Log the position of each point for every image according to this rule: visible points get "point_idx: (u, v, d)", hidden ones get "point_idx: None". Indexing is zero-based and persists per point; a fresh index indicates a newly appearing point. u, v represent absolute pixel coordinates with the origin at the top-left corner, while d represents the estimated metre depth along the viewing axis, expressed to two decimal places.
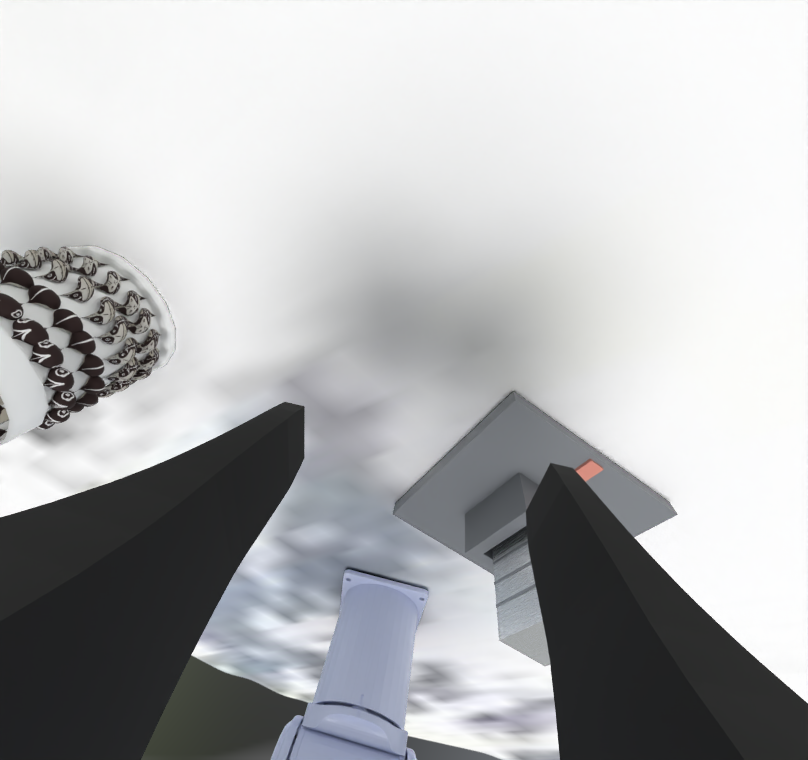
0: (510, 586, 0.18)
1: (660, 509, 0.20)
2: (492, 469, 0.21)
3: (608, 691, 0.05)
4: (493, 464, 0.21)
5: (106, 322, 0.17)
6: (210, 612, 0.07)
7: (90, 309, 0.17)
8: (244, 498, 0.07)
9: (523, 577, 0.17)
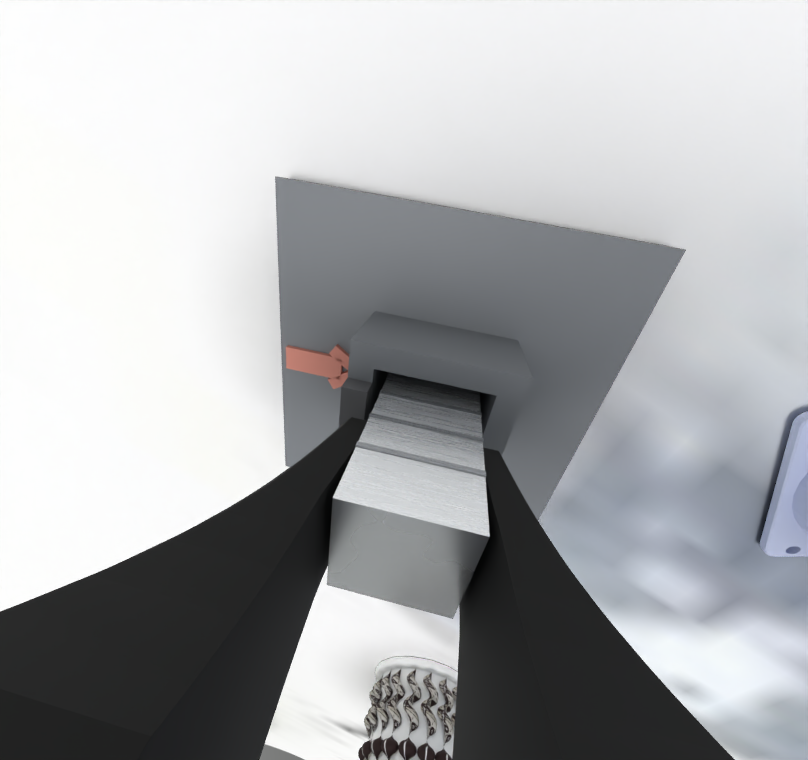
0: None
1: (286, 212, 0.11)
2: None
3: (485, 657, 0.05)
4: None
5: (385, 718, 0.24)
6: (298, 638, 0.07)
7: (381, 721, 0.25)
8: (329, 520, 0.07)
9: None
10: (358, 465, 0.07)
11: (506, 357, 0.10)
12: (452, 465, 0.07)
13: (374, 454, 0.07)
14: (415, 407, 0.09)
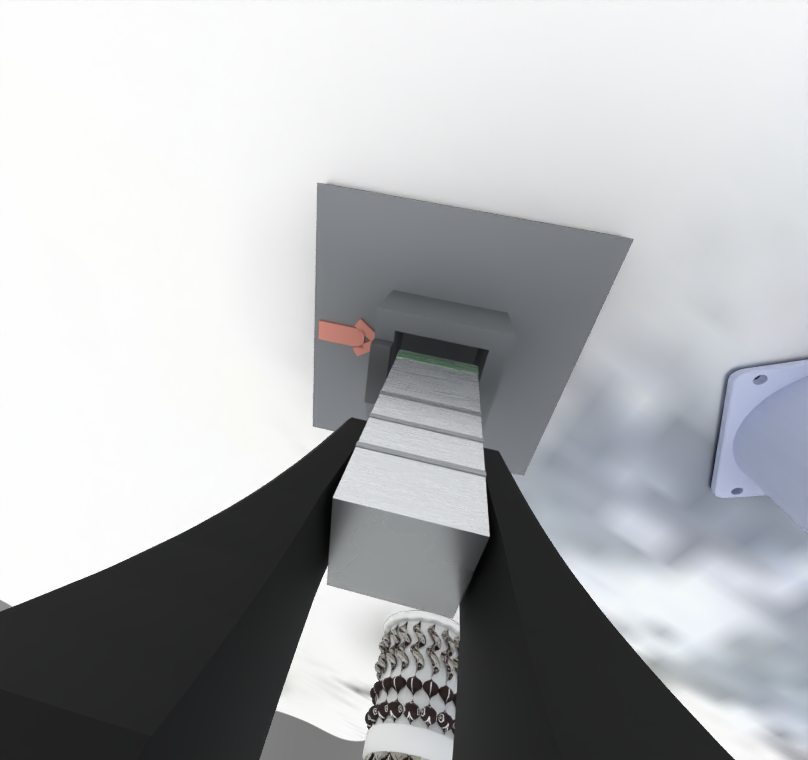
0: None
1: (325, 211, 0.14)
2: None
3: (485, 657, 0.05)
4: None
5: (394, 661, 0.27)
6: (298, 637, 0.07)
7: (391, 664, 0.28)
8: (329, 520, 0.07)
9: None
10: (358, 465, 0.07)
11: (496, 322, 0.13)
12: (452, 465, 0.08)
13: (374, 454, 0.07)
14: (415, 407, 0.09)
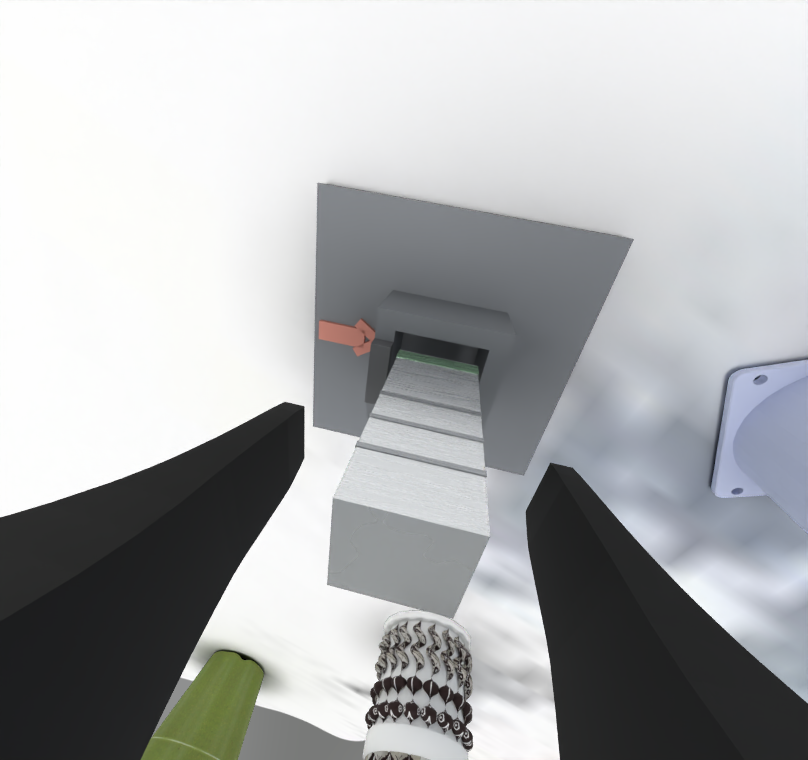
0: None
1: (325, 211, 0.14)
2: None
3: (608, 691, 0.05)
4: None
5: (394, 661, 0.27)
6: (210, 612, 0.07)
7: (391, 664, 0.28)
8: (244, 498, 0.07)
9: None
10: (358, 465, 0.07)
11: (496, 322, 0.13)
12: (453, 466, 0.07)
13: (374, 454, 0.07)
14: (415, 407, 0.09)
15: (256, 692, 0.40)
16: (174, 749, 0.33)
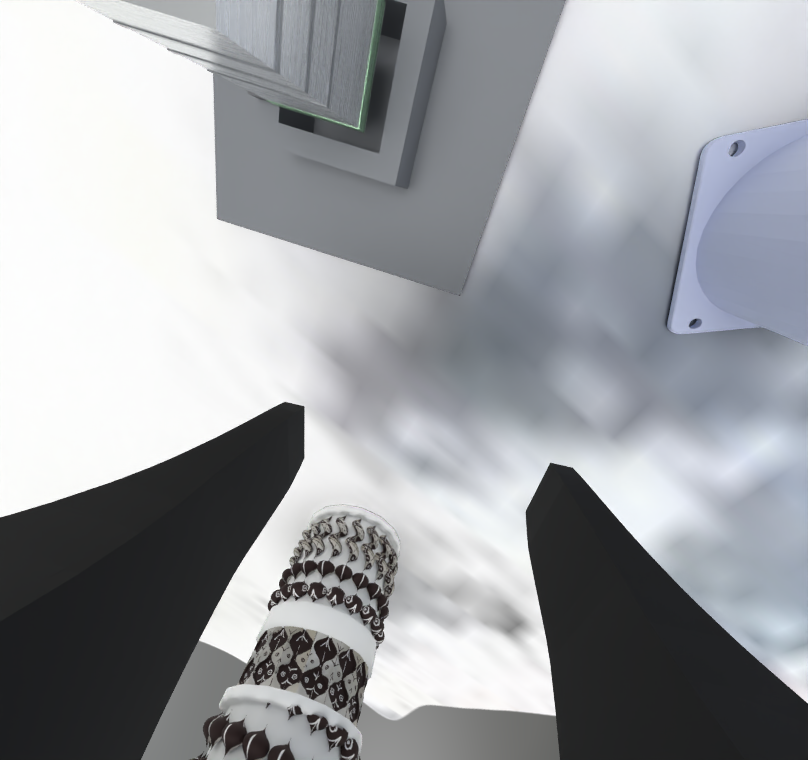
0: (235, 64, 0.06)
1: None
2: (311, 193, 0.15)
3: (608, 691, 0.05)
4: (302, 197, 0.15)
5: (309, 548, 0.24)
6: (210, 612, 0.07)
7: None
8: (244, 498, 0.07)
9: (190, 51, 0.06)
10: None
11: None
12: None
13: None
14: None
15: None
16: None
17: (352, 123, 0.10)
